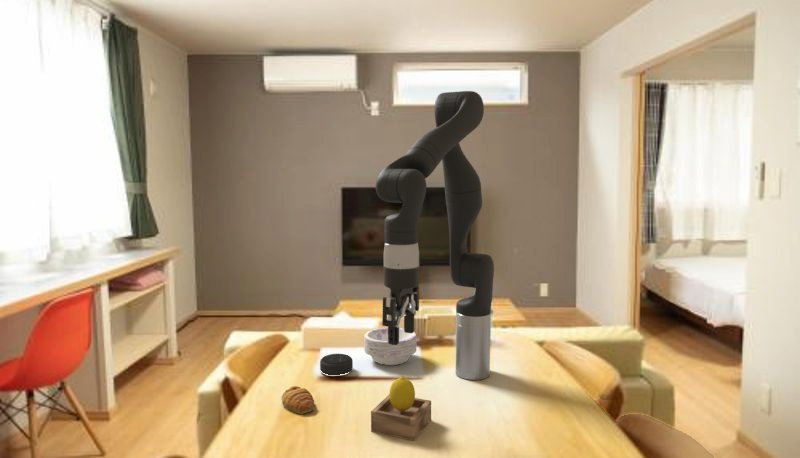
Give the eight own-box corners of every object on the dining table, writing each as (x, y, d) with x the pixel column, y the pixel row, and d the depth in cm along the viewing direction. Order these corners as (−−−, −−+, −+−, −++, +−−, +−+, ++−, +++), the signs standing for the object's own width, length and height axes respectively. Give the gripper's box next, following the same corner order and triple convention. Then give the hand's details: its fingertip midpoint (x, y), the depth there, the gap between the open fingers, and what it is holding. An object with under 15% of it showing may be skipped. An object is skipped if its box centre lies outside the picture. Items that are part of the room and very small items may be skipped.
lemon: (411, 419, 117) (411, 382, 116) (386, 415, 118) (386, 379, 118) (417, 409, 122) (417, 374, 121) (393, 406, 123) (393, 371, 123)
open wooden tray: (390, 412, 127) (390, 393, 127) (431, 420, 123) (431, 400, 123) (371, 431, 118) (370, 411, 118) (414, 440, 114) (414, 419, 114)
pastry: (322, 410, 128) (321, 395, 128) (295, 418, 125) (295, 402, 124) (304, 397, 136) (303, 382, 136) (278, 404, 132) (277, 389, 132)
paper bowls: (392, 348, 172) (392, 323, 171) (427, 360, 161) (427, 334, 160) (353, 359, 161) (353, 333, 160) (388, 374, 150) (388, 346, 149)
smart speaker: (313, 371, 152) (313, 357, 152) (339, 363, 158) (339, 350, 158) (332, 381, 146) (332, 366, 145) (359, 372, 152) (359, 358, 151)
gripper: (404, 271, 108) (405, 351, 110) (429, 259, 121) (429, 330, 123) (370, 268, 111) (371, 346, 113) (398, 257, 124) (398, 327, 126)
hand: (401, 338), depth 118 cm, fingers open, 8 cm apart
